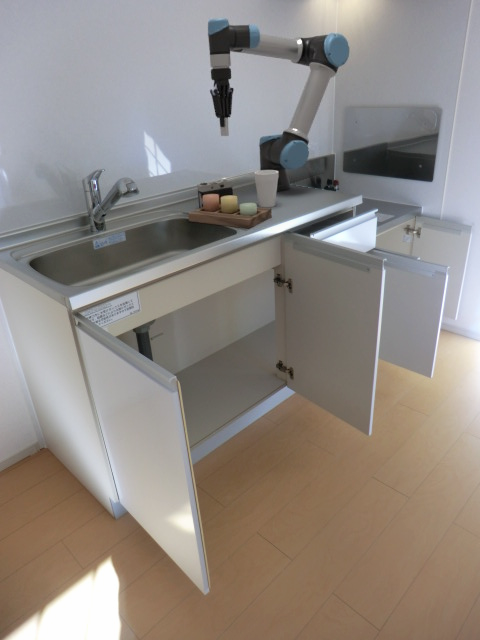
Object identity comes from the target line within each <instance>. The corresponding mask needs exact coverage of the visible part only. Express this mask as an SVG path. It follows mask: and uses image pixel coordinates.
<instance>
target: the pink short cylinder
mask: <svg viewBox="0 0 480 640" xmlns="http://www.w3.org/2000/svg"><path fill="white" fill-rule="evenodd" d="M203 207H204V210H205V211H216V210H219V209H220V205H219V195H218V194H207V195H203Z"/></svg>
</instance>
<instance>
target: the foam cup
mask: <svg viewBox="0 0 480 640" xmlns="http://www.w3.org/2000/svg"><path fill="white" fill-rule="evenodd" d="M253 174H254V175H253V176H254V182H255V189H256V194H257V201H258V206H259V208H272V207H274V206H276V199H277V192H278V191H277V183H278V178H279V172H278V171H276V170H261V171H260V170H256V171H254V173H253Z"/></svg>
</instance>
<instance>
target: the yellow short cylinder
mask: <svg viewBox="0 0 480 640" xmlns="http://www.w3.org/2000/svg"><path fill="white" fill-rule="evenodd" d="M238 206H239V205H238V196H237V195H234V194H233V195H229V196H223V197H221V210H222V212H223V213H234V212H237V211H238Z"/></svg>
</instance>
